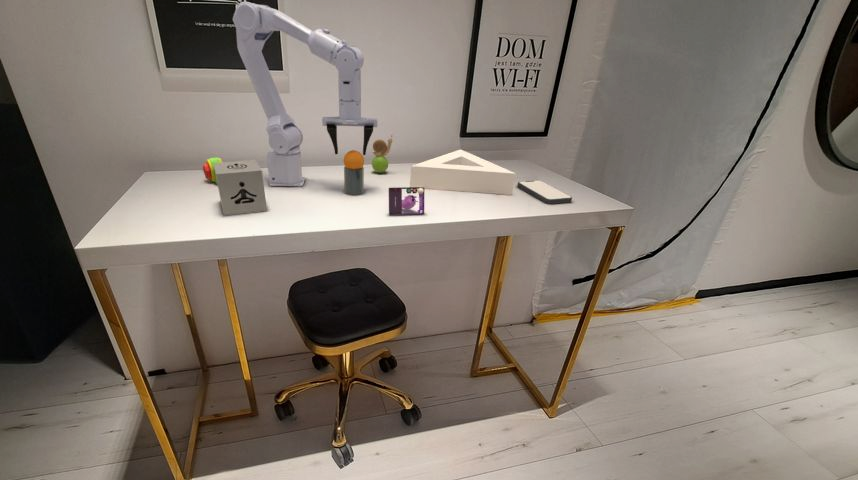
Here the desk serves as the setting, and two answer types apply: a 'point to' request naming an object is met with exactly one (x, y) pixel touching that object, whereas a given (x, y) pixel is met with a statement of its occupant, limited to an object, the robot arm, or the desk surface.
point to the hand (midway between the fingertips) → (350, 153)
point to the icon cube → (240, 187)
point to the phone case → (544, 192)
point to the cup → (354, 181)
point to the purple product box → (405, 200)
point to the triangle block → (462, 174)
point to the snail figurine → (381, 155)
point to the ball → (353, 160)
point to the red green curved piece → (211, 169)
